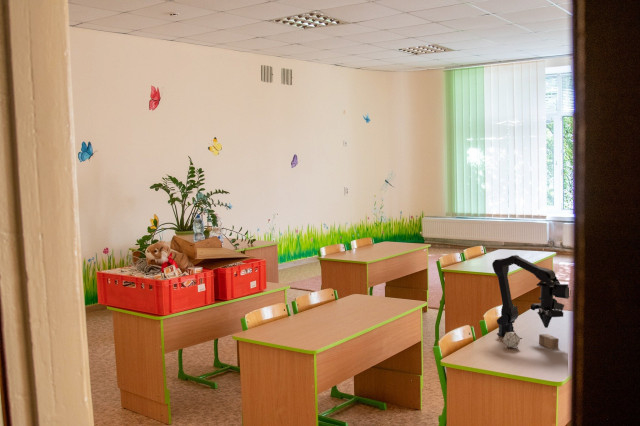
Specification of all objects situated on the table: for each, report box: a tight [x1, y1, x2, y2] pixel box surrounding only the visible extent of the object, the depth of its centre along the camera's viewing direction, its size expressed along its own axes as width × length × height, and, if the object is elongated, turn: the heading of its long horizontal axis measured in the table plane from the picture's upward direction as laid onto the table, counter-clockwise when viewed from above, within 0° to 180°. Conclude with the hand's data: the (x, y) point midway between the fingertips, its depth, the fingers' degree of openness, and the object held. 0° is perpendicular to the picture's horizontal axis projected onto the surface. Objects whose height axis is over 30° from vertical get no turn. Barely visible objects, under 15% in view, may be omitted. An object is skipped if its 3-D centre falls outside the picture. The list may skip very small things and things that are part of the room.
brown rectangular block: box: [538, 333, 560, 349], centre depth 283 cm, size 4×4×9 cm
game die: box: [500, 330, 523, 350], centre depth 279 cm, size 9×8×10 cm
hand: (546, 327), depth 285 cm, fingers closed
